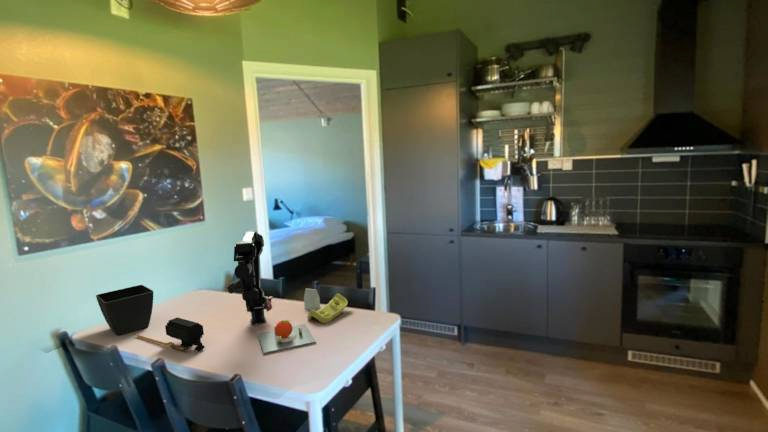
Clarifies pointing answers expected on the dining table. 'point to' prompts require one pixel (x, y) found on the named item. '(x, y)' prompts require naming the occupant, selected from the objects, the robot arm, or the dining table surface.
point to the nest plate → (285, 340)
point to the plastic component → (329, 309)
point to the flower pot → (127, 308)
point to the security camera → (186, 332)
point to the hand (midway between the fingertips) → (250, 308)
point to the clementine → (283, 328)
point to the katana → (162, 343)
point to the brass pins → (281, 338)
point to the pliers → (269, 302)
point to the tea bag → (311, 299)
